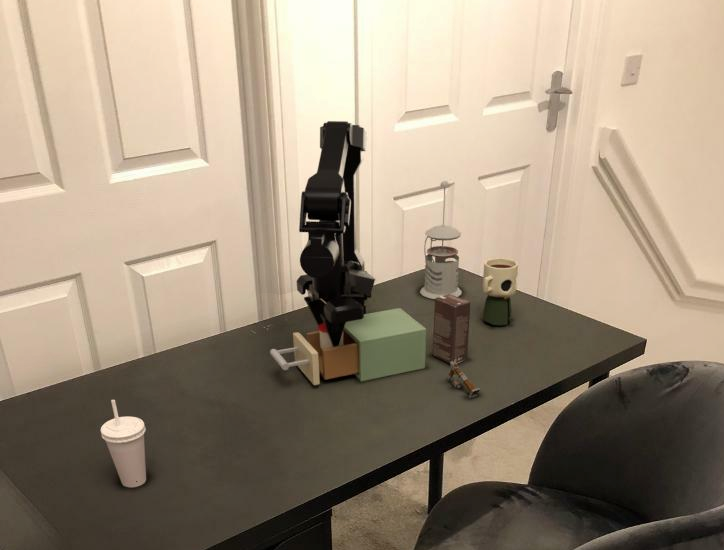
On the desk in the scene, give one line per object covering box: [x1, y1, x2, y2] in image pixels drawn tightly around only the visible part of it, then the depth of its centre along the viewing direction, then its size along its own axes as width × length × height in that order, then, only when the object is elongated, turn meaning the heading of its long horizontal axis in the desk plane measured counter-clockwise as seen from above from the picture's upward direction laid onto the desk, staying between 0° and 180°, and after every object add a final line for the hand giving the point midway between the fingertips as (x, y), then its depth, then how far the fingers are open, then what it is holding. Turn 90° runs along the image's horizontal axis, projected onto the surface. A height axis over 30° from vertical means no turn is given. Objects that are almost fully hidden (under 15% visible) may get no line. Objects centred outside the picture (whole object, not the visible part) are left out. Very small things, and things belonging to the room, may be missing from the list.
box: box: [432, 294, 472, 364], centre depth 160 cm, size 6×4×12 cm
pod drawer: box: [269, 330, 359, 386], centre depth 155 cm, size 18×10×6 cm, turn 115°
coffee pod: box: [317, 323, 344, 349], centre depth 154 cm, size 5×5×4 cm
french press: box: [419, 180, 463, 300], centre depth 186 cm, size 10×12×25 cm
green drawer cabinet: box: [343, 307, 427, 382], centre depth 159 cm, size 14×12×8 cm
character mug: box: [482, 257, 519, 326], centre depth 174 cm, size 11×7×13 cm, turn 138°
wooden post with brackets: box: [446, 361, 481, 399], centre depth 151 cm, size 2×8×4 cm, turn 35°
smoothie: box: [100, 399, 147, 488], centre depth 123 cm, size 6×6×14 cm
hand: (331, 340), depth 154 cm, fingers closed on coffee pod, 4 cm apart
